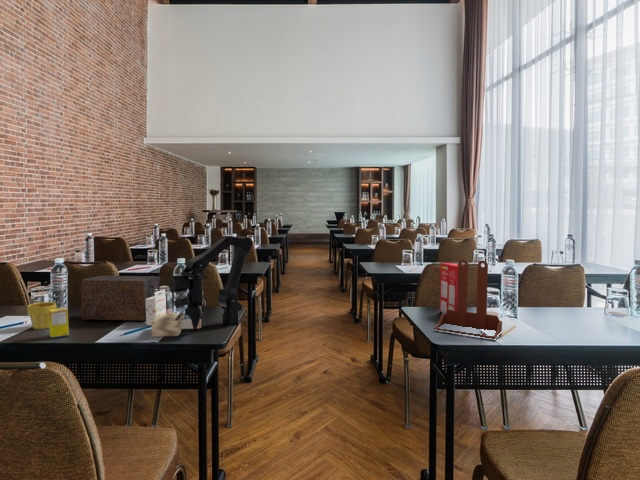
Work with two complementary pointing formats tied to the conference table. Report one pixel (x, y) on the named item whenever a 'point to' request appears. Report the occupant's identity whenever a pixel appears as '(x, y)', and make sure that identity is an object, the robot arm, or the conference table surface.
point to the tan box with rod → (167, 324)
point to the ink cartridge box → (155, 306)
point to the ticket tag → (188, 324)
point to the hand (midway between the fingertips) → (195, 327)
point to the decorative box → (117, 297)
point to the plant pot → (40, 314)
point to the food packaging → (448, 287)
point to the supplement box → (58, 323)
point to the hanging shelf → (480, 317)
